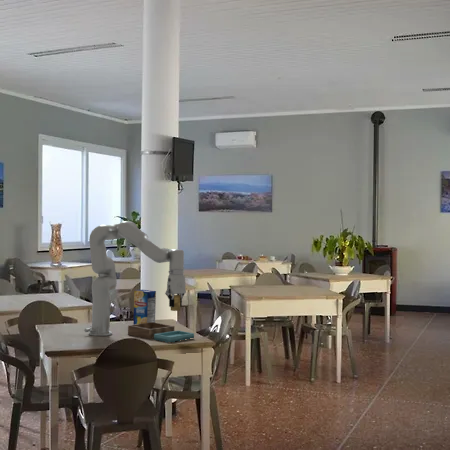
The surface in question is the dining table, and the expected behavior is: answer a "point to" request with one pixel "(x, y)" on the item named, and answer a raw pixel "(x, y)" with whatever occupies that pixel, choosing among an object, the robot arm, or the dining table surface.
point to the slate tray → (173, 336)
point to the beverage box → (144, 306)
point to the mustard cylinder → (176, 303)
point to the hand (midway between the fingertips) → (175, 306)
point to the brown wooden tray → (148, 329)
